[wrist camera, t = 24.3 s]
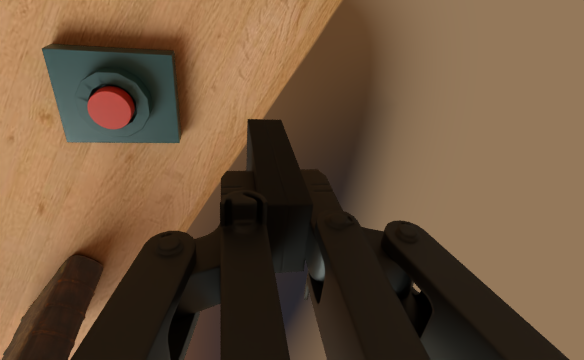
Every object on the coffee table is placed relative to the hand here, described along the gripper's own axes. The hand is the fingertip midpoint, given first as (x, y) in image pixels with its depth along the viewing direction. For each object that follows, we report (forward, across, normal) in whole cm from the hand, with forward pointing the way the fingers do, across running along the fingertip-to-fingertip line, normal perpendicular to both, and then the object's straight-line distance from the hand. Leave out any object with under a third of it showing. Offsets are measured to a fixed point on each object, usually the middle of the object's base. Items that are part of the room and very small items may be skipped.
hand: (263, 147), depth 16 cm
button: (+23, -13, -6) cm, 27 cm away
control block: (+26, -13, -6) cm, 30 cm away
